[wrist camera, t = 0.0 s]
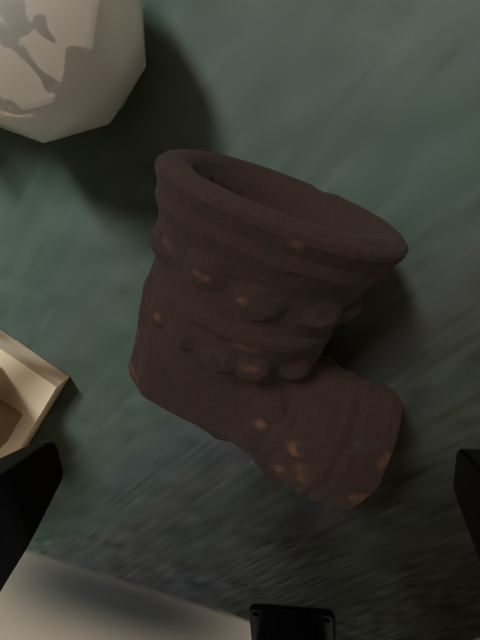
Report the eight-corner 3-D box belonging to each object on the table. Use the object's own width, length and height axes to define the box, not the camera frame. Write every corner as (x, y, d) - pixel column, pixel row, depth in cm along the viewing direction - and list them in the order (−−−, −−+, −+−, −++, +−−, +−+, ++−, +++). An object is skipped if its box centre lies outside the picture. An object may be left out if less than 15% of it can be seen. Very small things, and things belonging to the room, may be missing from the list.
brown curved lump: (339, 573, 18) (565, 329, 11) (69, 447, 19) (107, 146, 12) (342, 435, 27) (470, 244, 19) (154, 352, 28) (206, 141, 20)
